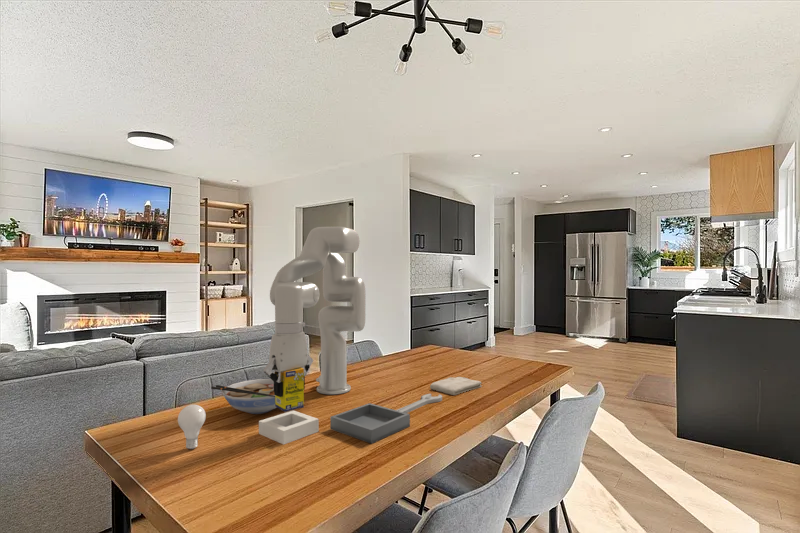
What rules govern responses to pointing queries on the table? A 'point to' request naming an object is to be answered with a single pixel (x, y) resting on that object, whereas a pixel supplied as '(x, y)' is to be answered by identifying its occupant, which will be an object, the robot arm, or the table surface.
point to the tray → (370, 422)
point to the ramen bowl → (250, 395)
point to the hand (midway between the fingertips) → (289, 392)
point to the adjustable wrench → (421, 403)
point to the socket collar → (288, 426)
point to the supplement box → (291, 390)
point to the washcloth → (455, 385)
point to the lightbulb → (191, 423)
